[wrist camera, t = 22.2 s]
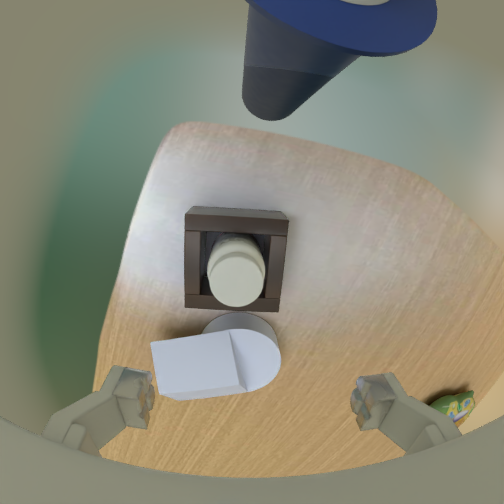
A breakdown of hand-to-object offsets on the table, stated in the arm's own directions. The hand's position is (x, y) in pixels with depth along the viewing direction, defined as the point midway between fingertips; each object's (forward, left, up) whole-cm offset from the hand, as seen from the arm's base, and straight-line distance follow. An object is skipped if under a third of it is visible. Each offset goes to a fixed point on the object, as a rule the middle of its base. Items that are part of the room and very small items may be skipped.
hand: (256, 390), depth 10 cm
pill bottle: (+1, -1, -20) cm, 20 cm away
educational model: (+30, +39, -20) cm, 53 cm away
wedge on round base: (+13, -2, -20) cm, 24 cm away
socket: (+1, -1, -20) cm, 20 cm away
